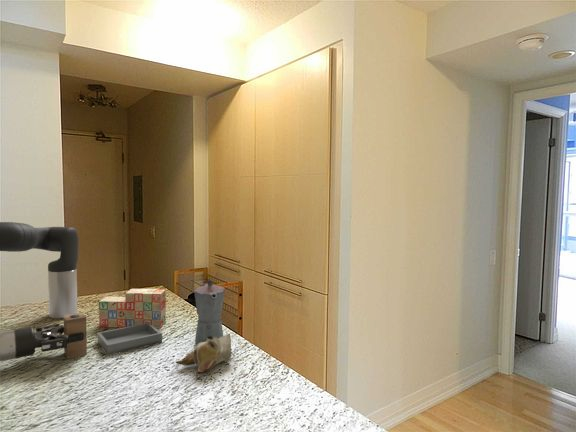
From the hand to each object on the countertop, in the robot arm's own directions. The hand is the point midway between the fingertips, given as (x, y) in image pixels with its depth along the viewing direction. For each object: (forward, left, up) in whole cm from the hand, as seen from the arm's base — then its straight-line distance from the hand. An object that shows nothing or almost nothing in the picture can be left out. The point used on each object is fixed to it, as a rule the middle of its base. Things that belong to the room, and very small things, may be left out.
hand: (80, 331), depth 114 cm
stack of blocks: (-15, +19, -7) cm, 25 cm away
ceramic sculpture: (+30, +26, -7) cm, 40 cm away
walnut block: (0, -1, -6) cm, 6 cm away
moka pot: (+15, +34, -6) cm, 37 cm away
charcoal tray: (+1, +14, -6) cm, 15 cm away
